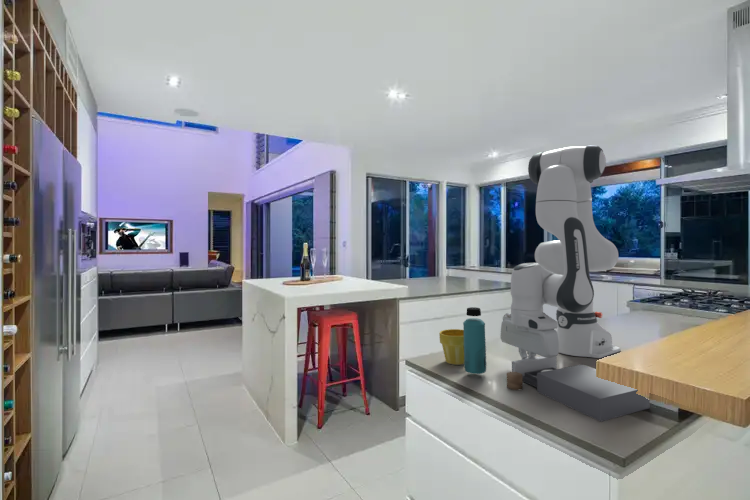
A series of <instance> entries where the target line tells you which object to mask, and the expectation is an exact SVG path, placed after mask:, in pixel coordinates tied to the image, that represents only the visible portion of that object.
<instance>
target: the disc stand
mask: <svg viewBox="0 0 750 500" xmlns="http://www.w3.org/2000/svg"><path fill="white" fill-rule="evenodd" d="M523 383H524V382H523V381H522V374H521V373H518V372H512V371H508V372H506V388H507V389H510V390H513V391H521V390H523V385H524V384H523Z"/></svg>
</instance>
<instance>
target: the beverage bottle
mask: <svg viewBox="0 0 750 500" xmlns="http://www.w3.org/2000/svg"><path fill="white" fill-rule="evenodd" d="M466 316H468V317H470V318H466V319H465V320H464V321H463V322H462V324H463V326H462V327H463V330H464V345H463V346H464V349H463V350H464V364H463V367H464V372H466V373H469V374H472V375H473V374H474V375H479V374H485V373H486V372H487V366H488V365H487V345H486V343H487V342H486V323H485V321H484V320H482V319H481V318H477V317H481V316H482V311H481V308H480V307H475V306H474V307H470V306H469V307H467V308H466Z"/></svg>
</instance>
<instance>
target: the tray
mask: <svg viewBox="0 0 750 500" xmlns="http://www.w3.org/2000/svg"><path fill="white" fill-rule="evenodd" d="M557 367H558V366H557V356H556V357H552V358H546V357H543V356H535V358H529V359H523V360H522V359H518V360H512V361H511V372H518V373H521V374H522V382H523V383H526V384H529V385H530V386H532V387H535V388H537V373H539V372H541V371H543V370H555V369H558V368H557Z"/></svg>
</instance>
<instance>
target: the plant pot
mask: <svg viewBox="0 0 750 500" xmlns="http://www.w3.org/2000/svg"><path fill="white" fill-rule="evenodd" d="M439 343H440V344H441V347H442V351H443V354H444V358H445V363H447V364H448V365H455V366H459V365H460V366H462V365H464V350H463V349H464V346H463V345H464V329H459V328H458V329H457V328H455V329H454V328H453V329H452V328H450V329H444V330H441V331H439Z"/></svg>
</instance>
